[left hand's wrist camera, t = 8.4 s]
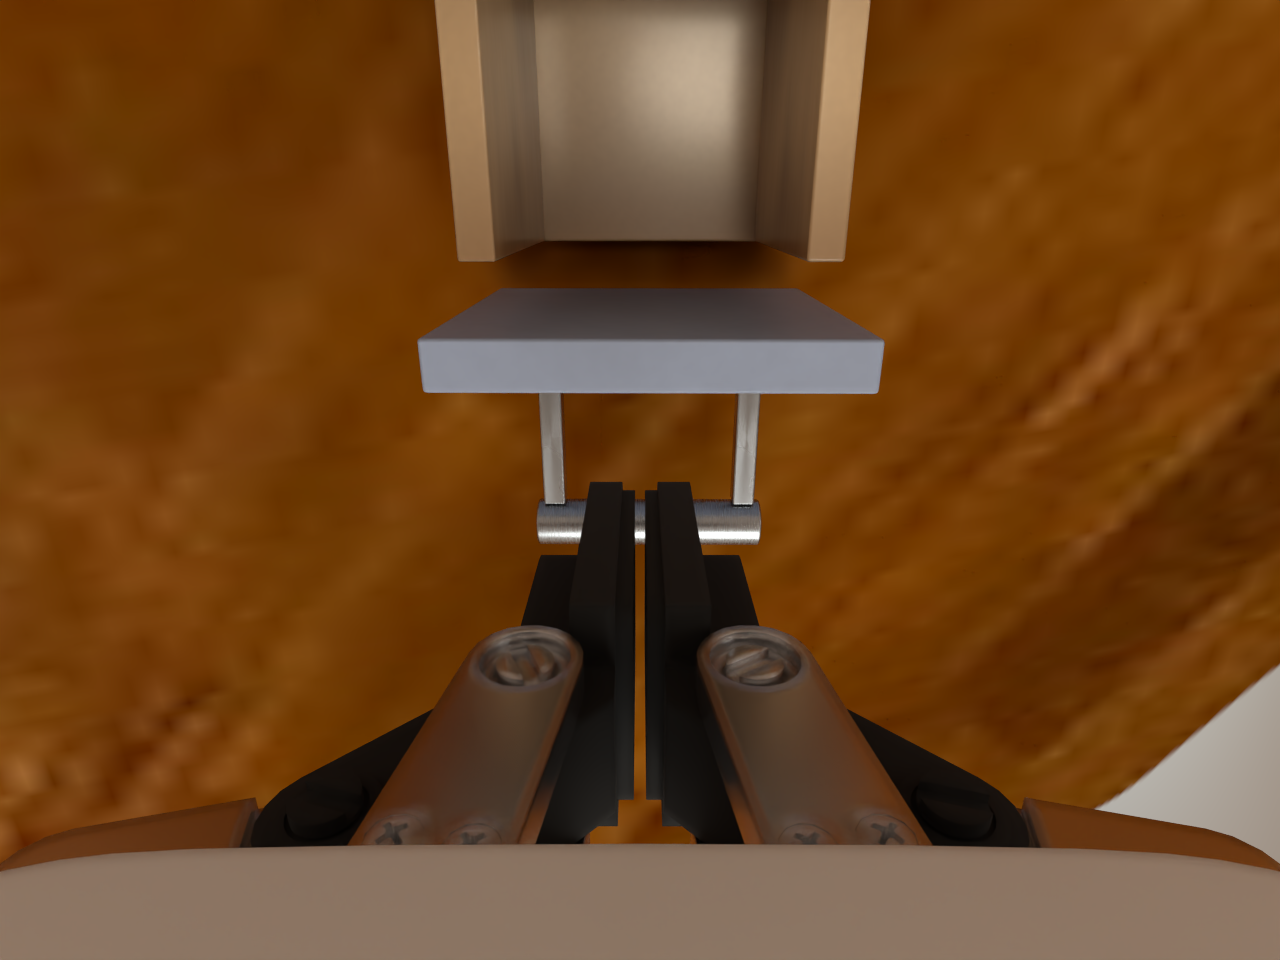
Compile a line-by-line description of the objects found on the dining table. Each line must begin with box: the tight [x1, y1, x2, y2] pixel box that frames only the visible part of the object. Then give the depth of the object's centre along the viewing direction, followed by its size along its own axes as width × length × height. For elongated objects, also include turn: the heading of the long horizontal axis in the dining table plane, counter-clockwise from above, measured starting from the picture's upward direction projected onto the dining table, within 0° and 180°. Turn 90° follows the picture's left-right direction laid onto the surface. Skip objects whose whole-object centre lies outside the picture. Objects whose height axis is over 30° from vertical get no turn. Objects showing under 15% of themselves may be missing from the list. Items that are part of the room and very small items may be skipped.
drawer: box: [418, 0, 884, 545], centre depth 18 cm, size 24×10×9 cm, turn 0°
